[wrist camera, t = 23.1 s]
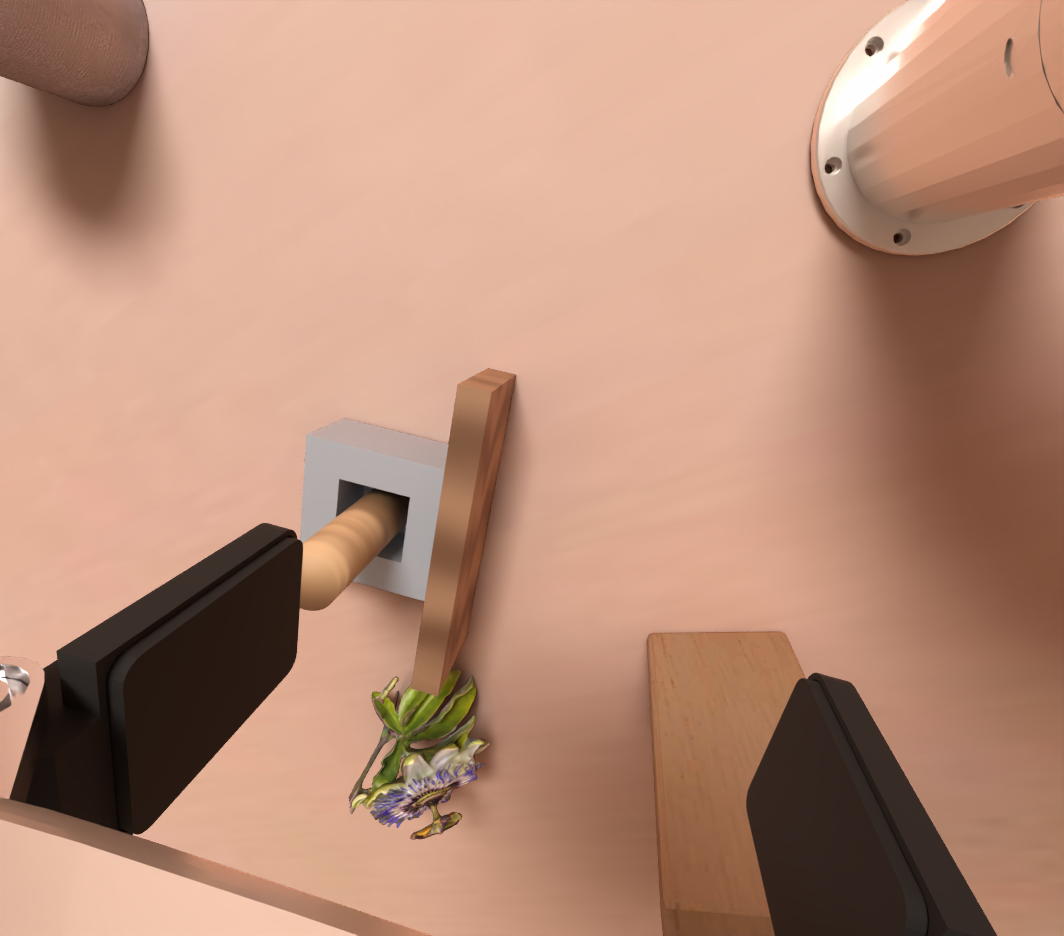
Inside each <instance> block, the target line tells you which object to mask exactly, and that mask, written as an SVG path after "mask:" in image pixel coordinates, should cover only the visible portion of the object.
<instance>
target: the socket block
mask: <svg viewBox="0 0 1064 936" xmlns="http://www.w3.org/2000/svg"><path fill="white" fill-rule="evenodd" d="M448 445H449V444H446V443H442V442H438V441H434V440H430V439H426V438H422V437H418V436H414V435H410V434H406V433H402V432H398V431H394V430H390V429H386V428H382V427H378V426H374V425H370V424H366V423H362V422H358V421H354V420H350V419H346V418H344V419H341V420H339V421H337V422H335V423H332V424H330V425H328V426H325V427H323V428H321V429H318V430H316V431H314V432H312V433H309V434H307V436H306V452H305V469H304V485H303V502H302V519H301V535H300V540H301V541H302V543H304V542H305V541H306V540H308V539H309V538H310V537H311V536H313V535H314V534H315V533H317V532H318V531H319V530H320V529H322V528H323V527H324V526H326V525H327V524H328V523H330V522H331V521H332V520H333V519H335V518H336V517H337V516H339V515H340V514H341V513H343V512H344V511H345V510H346V509H348V508H349V507H350V506H352V505H353V504H354V503H355V502H357V501H358V500H359V499H361V498H362V497H363V496H365V495H366V494H367V493H368V492H370V491H371V490H372V489H374V488H376V489H380V490H384V491H388V492H391V493H395V494H399V495H403V496H407V497H410V501H409V509H408V516H407V524H406V525H405V526H404V527H403V528H402V529H401V531H400V532H399V533H398V534H397V535H396V536H395V537H394V538H393V539H392V540H391V541H390V542H389V543H388V544H387V545H386V546H385V547H384V548H383V549H382V550H381V551H380V553H379V554H378V555H377V556H376V557H375V558H374V559H373V560H372V561H371V562H370V563H369V564H368V565H367V566H366V567H365V568H364V569H363V570H362V571H361V572H360V573H359V575H358V576H357V577H356V578H355V579H354V580H353V582H357V583H360V584H364V585H367V586H371V587H375V588H378V589H382V590H385V591H389V592H393V593H396V594H400V595H403V596H407V597H410V598H414V599H418V600H421V601H424V600H425V594H426V587H427V581H428V574H429V568H430V561H431V555H432V548H433V542H434V535H435V529H436V522H437V516H438V509H439V503H440V496H441V490H442V484H443V477H444V471H445V464H446V458H447V451H448Z"/></svg>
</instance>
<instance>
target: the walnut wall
mask: <svg viewBox="0 0 1064 936" xmlns="http://www.w3.org/2000/svg"><path fill="white" fill-rule="evenodd" d="M515 377H516V375H515V374H510V373H506V372H502V371H497V370H493V369H489V368H488V369H486V370H484V371H482V372H480V373H478V374H476V375H474V376H473V377H471V378H469V379H467V380H465V381H463V382H461V383H459V384H458V386H457V393H456V399H455V406H454V412H453V419H452V425H451V432H450V438H449V445H448V451H447V458H446V464H445V471H444V477H443V484H442V490H441V496H440V503H439V509H438V516H437V522H436V529H435V535H434V542H433V548H432V555H431V561H430V568H429V574H428V581H427V587H426V594H425V600H424V607H423V613H422V620H421V626H420V633H419V639H418V646H417V652H416V658H415V665H414V671H413V678H412V684H411V689H414V690H418V691H421V692H425V693H428V694H431V695H435V696H438V695H439V693H440V691H441V689H442V687H443V685H444V682H445V680H446V678H447V676H448V674H449V672H450V670H451V668H452V666H453V664H454V661H455V659H456V657H457V655H458V653H459V651H460V649H461V647H462V645H463V643H464V640H465V638H466V635H467V630H468V625H469V619H470V614H471V609H472V604H473V598H474V593H475V588H476V583H477V577H478V572H479V567H480V562H481V556H482V551H483V546H484V540H485V535H486V530H487V525H488V519H489V514H490V509H491V504H492V498H493V493H494V488H495V483H496V477H497V472H498V467H499V462H500V456H501V451H502V446H503V440H504V435H505V430H506V425H507V419H508V414H509V409H510V404H511V398H512V393H513V388H514V383H515Z"/></svg>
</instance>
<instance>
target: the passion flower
mask: <svg viewBox="0 0 1064 936" xmlns="http://www.w3.org/2000/svg"><path fill="white" fill-rule="evenodd" d="M460 674H461V670H451V671H450V672H449V674H448V676H447V678H446V680H445V682H444V685H443V687H442V689H441V691H440V693H439V695H438V696H435V695H431V694H428V693H425V692H421V691H418V690H414V689H411V685H410V687H409V688H408V689H406V691H405V693H404V695H403V697H402V699H401V702H400V705H399V707H398V710H397V711H396V710H395V709H396V705H397V698H398V693H399V691H397V693H396V696H395V699H394V701H393V702H392V701H391V699H390V698H389V697H387V696H388V694H389V692H390V691H391V690H392V689H393V688H394V686H395V684H396V682H398V679H399V678H398V677H394V678H393V679H392V680H391V681H390V683H389V684H388V685H387V687H386V688H385V689H384V690H383V692H382V693H379V692H373V693H372V703H373V706H374V709H375V711H376V713H377V715H378V716H379V718H380V720H381V721H382V722H383V724H384V728H383V731H382V735H381V738H380V742H379V744H378V746H377V748H376V749H375V751H374V753H373V755H372V756H371V758H370V760H369V762H368V764H367V766H366V768H365V769H364V771H363V773H362V775H361V777H360V778H359V780H358V781H357V783H356V784H355V786H354V788H353V790H352V793H351V794H350V796H349V801H350V803H349V804H351V805H350V806H349V807H350V813H351V814H352V813H353V812H354V810H355V808H356V807H358V806H359V805H360V804H361V803H362V802H363V806H365V808H366V809H370V808H371V807H372V806H373V808H374V809H373V810H372V811H371V812H370V813H371V814H372V815H373V816H374V818H375V820H377V819H379V823H381V824H382V825H385V824H386V823H389V825H388V827H390V826H391V825H392V824H393V823H397V828H398V827H399V825H400V824H401V823H402V821H404V820H405V819H406V818H408V820H411V819H413V818H419V816H420V815H422V814H423V812H424V811H426V809H431V811H432V813H433V822H432V824H430V825H429V826H427V827H425V828H424V829H422V830H419V831H417V832H414V833H413V834H412V835H411V837H410V839H411V840H414V839H425V838H427V837H430V836H432V835H435V834H440V835H441V834H442V833H443V832H444V831H445V830H447V829H449V828H451V827H453V826H454V825H456V824H457V823H458V822H459V821H460V820H461V819H462V815H461V814H460V813H457V812H451V813H450V814H448V815H444V816H440V814H439V812H438V810H437V804H438V803H441V802H442V803H445V802H447V801H448V800H449V799H450V797H451V793H452V790H453V789H454V788H458V787H461V786H463V785H465V784H467V783H469V782H471V781H472V780H476V779H477V778H478V777H477V775H476V773H475V772H476V770H477V768H480V767H482V766H485V765H484V764H481V763H479V762H477V761H476V759H475V754H479V753H480V752H481V751H483V750H484V749H485V748H486V747H488V746H489V742H488V741H487V740H485V739H478V738H470V739H469V738H468V735H469V733H470V731H471V730H472V728H473V727H474V723H475V716H474V715H473V717H472V718H471V719H470V720H469V721H468V722H467V723H466V724H465V725H464V726H462V727H460V728H459V729H458V730H457V731H456V732H455V733H454V734H451V735H450V736H449V737H448V738H447V739H446V740H444V741H442V742H440V743H438V744H436V745H434V746H432V747H429V748H425V749H414V748H411V747H410V744H411V743H417V742H418V741H421V740H422V739H427V740H431V739H439V738H444V737H445V736H446V735H448V734H450V733H452V732H453V731H454V730H455V729H456V726H457V725H458V724H459V723H460V722H461V721H462V720H463V718H464V717H465V716H466V715H467V713H468V711H469V709H470V707H471V704H472V703H473V702H474V699H475V695H476V687H475V685H474V683H473V677H472V676H471V677H470V678H469V680H468V682H467V684H466V685H465V686H463V687H462V688H460V689H459V690H458V691H457V692H456V693H455V694H454V695H453V696H452V698H451V700H450V701H449V702H448V704H447V705H446V706H445V707H444V708H443V709H442V711H441V712H440V714H439V715H438V716H437V717H435V718H434V719H433V720H431V721H430V722H428V721H429V719H431V718H432V716H433V715H434V714H435V713H436V711H437V710H438V708H439V707H440V705H441V704H442V703H443V701H444V699H445V697H446V696H448V695H450V694H451V692H452V691H453V688H454V686H455V684H456V683H457V680H458V678H459V677H460ZM427 722H428V723H427ZM394 737H395V738H396V739H397V740H396V743H395V745H394V747H393V748H392V750H391V751H390V752H389V753H388V754H387V755H386V756H385V757H384V758H383V760H382V761H381V764H382V768H381V769H380V771H379V772H378V773H377V774H376V775H375V776H374V778H373V783H372V788H369V789H362V783H363V780H364V778H365V776H366V774H367V773H368V771H369V769H370V767H371V766H372V764H373V762H374V760H375V759H376V757H377V755H378V753H379V751H380V750H381V748H382V746H383V745H384V744H385V743H387V742H388V741H390V740H391V739H392V738H394ZM403 757H406V758H405V760H404V761H403V763H402V766H401V771H402V776H400V777H399V778H397V779H396V777H397V775H398V773H399V767H400V762H401V759H402V758H403ZM481 765H482V766H481Z"/></svg>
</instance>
